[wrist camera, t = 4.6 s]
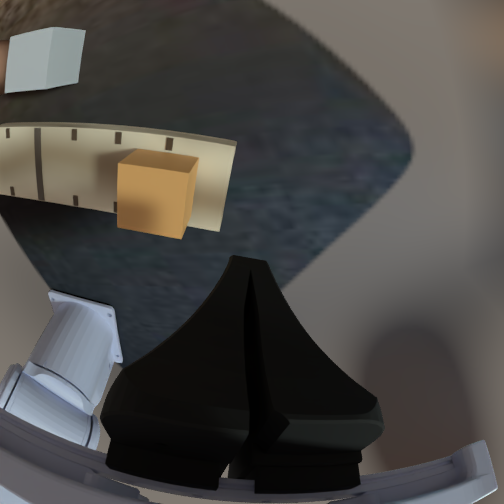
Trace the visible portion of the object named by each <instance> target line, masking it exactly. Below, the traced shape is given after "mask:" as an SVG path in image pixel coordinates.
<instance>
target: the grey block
mask: <svg viewBox="0 0 504 504" xmlns="http://www.w3.org/2000/svg"><path fill="white" fill-rule="evenodd" d="M85 32H86V30H78V29H70V28H59V27H51V28H46V29H41V30H37V31H32V32H28V33H24V34H20V35H16V36H12V37H11V38H10V44H9V51H8V59H7V68H6V79H5V93H11V92H19V91H29V90H40V89H48V88H53V87H58V86H63V85H69V84H74V83H78V78H79V70H80V62H81V55H82V49H83V43H84V37H85Z"/></svg>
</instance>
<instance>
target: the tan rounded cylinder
mask: <svg viewBox="0 0 504 504" xmlns="http://www.w3.org/2000/svg"><path fill="white" fill-rule="evenodd" d="M9 44H10V40H0V95H2V94H4V93H5V79H6V68H7V59H8V51H9Z"/></svg>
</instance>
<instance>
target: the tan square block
mask: <svg viewBox="0 0 504 504" xmlns="http://www.w3.org/2000/svg"><path fill="white" fill-rule="evenodd" d="M198 163H199V157H192V156H186V155H180V154H173V153H166V152H159V151H151V150H143V149H137V150H135V151H134V152H132V153H131V154H130V155H128V156H127V157H126V158H124V159H123V160H122V161H120V162H119V163H118V177H117V227H118V228H124V229H129V230H135V231H140V232H145V233H151V234H156V235H161V236H167V237H172V238H178V239H182V236H183V234H184V231H185V229H186V227H187V224H188V222H189V219H190V217H191V213H192V205H193V197H194V190H195V183H196V176H197V169H198Z"/></svg>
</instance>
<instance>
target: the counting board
mask: <svg viewBox="0 0 504 504" xmlns="http://www.w3.org/2000/svg"><path fill="white" fill-rule="evenodd" d="M236 144H237V141H233V140H227V139H221V138H216V137H210V136H204V135H197V134H191V133H184V132H177V131H169V130H161V129H152V128H143V127H133V126H122V125H109V124H93V123H69V122H18V123H4V124H1V125H0V194H2V195H9V196H15V197H21V198H28V199H34V200H40V201H46V202H52V203H58V204H64V205H70V206H76V207H82V208H88V209H94V210H100V211H106V212H112V213H117V177H118V163H119V162H120V161H122V160H123V159H124V158H126V157H127V156H128V155H130V154H131V153H132V152H134V151H135V150H137V149H143V150H151V151H159V152H166V153H173V154H180V155H186V156H192V157H199V163H198V169H197V176H196V183H195V190H194V197H193V205H192V213H191V217H190V219H189V222H188V224H187V226H191V227H196V228H201V229H207V230H212V231H218V232H219V230H220V226H221V221H222V216H223V210H224V205H225V200H226V194H227V189H228V184H229V179H230V174H231V169H232V164H233V159H234V154H235V149H236Z"/></svg>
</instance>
